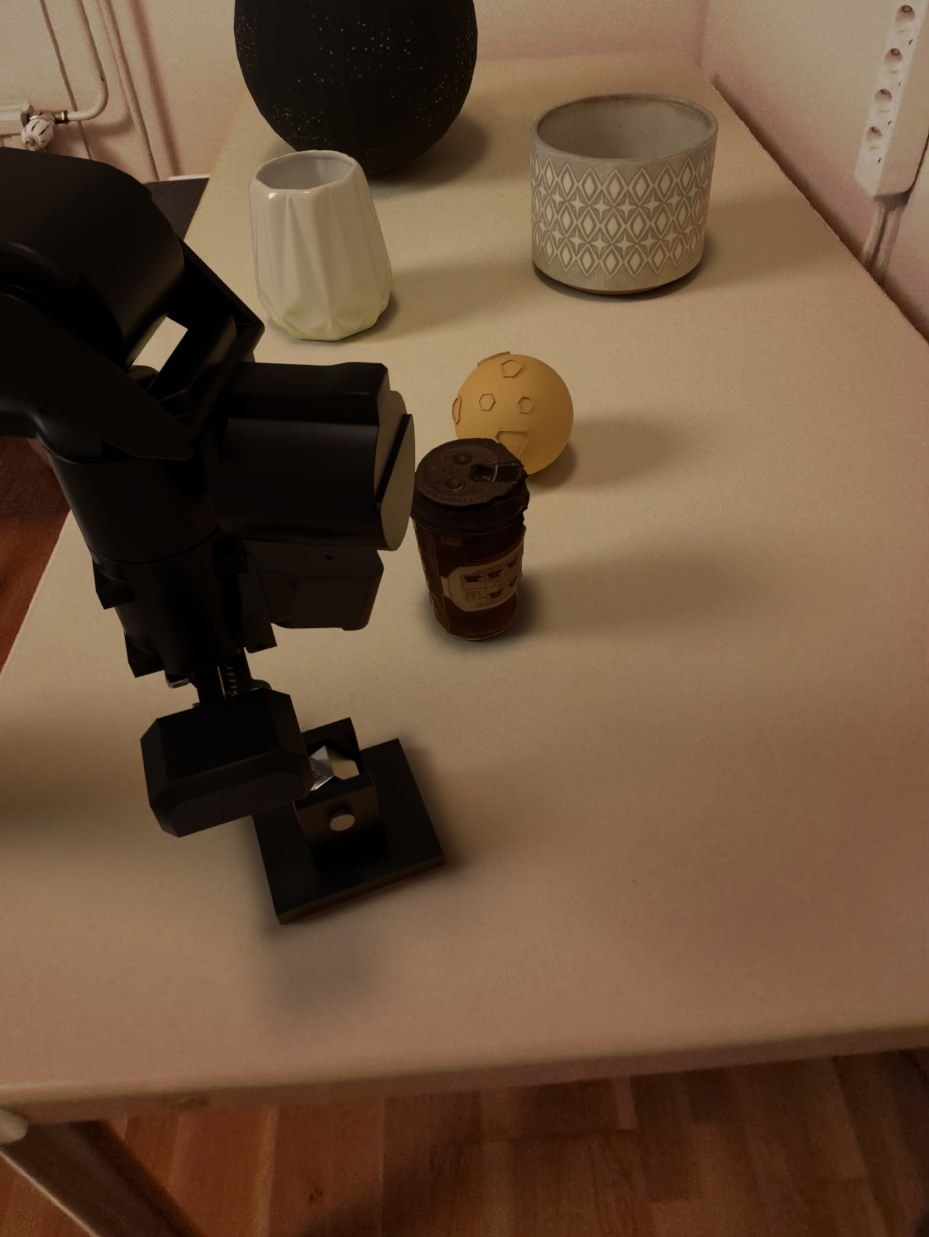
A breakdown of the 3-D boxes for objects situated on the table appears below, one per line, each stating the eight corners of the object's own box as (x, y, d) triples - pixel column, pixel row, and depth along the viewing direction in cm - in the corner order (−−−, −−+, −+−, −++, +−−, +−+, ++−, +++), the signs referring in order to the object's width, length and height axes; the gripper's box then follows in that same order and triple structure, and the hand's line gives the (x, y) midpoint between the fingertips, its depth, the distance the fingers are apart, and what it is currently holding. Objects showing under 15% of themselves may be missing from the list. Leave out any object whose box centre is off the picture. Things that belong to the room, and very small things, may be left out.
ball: (485, 205, 116) (471, -93, 95) (247, 220, 118) (179, -70, 96) (482, 117, 137) (470, -145, 115) (279, 131, 138) (229, -125, 117)
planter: (728, 244, 105) (748, 105, 95) (655, 319, 95) (668, 174, 85) (581, 213, 113) (585, 82, 103) (500, 280, 103) (494, 142, 93)
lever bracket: (280, 925, 53) (250, 861, 48) (249, 798, 59) (220, 729, 54) (446, 864, 55) (435, 797, 50) (400, 748, 61) (386, 676, 56)
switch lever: (212, 781, 45) (248, 753, 45) (194, 699, 49) (228, 672, 48) (341, 838, 52) (373, 814, 52) (317, 762, 56) (347, 740, 56)
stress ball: (515, 416, 85) (512, 316, 78) (596, 462, 80) (601, 359, 73) (433, 466, 81) (422, 365, 74) (512, 518, 76) (509, 414, 68)
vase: (377, 354, 94) (355, 202, 83) (246, 347, 97) (207, 199, 86) (410, 286, 103) (394, 141, 92) (290, 281, 106) (260, 139, 95)
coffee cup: (560, 612, 68) (562, 470, 59) (475, 674, 65) (463, 533, 55) (480, 554, 73) (471, 414, 64) (397, 609, 70) (374, 469, 60)
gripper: (421, 616, 33) (446, 848, 44) (301, 358, 45) (345, 590, 56) (94, 709, 30) (209, 929, 42) (63, 410, 43) (158, 642, 54)
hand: (240, 748), depth 48 cm, fingers closed on switch lever, 5 cm apart
